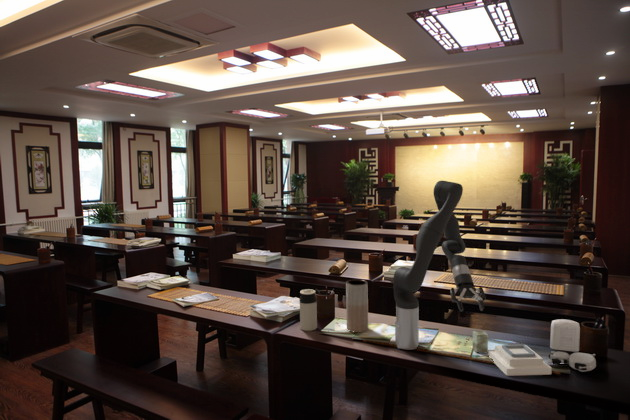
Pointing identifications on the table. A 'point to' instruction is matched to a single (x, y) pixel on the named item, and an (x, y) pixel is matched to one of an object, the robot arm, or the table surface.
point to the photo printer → (565, 335)
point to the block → (480, 341)
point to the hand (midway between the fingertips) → (472, 310)
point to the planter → (357, 305)
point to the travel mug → (308, 310)
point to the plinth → (519, 368)
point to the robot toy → (574, 360)
